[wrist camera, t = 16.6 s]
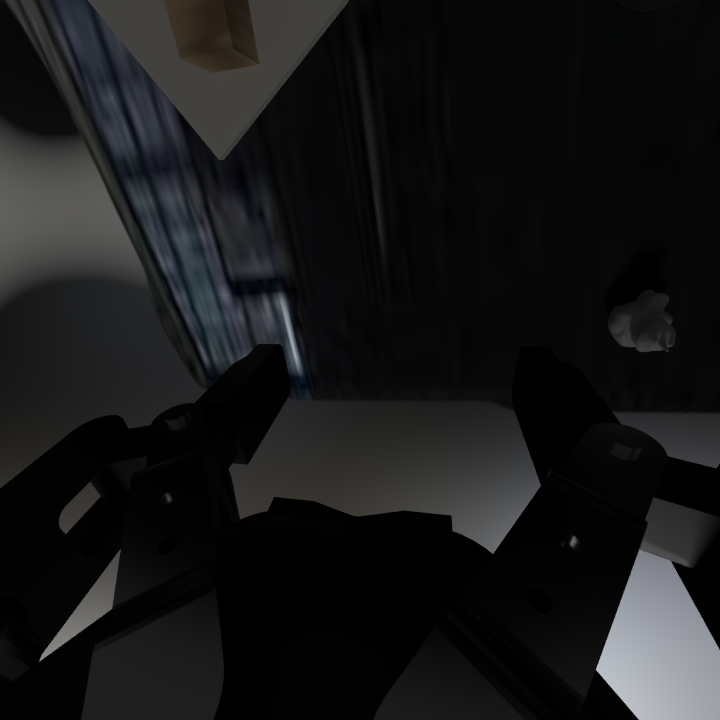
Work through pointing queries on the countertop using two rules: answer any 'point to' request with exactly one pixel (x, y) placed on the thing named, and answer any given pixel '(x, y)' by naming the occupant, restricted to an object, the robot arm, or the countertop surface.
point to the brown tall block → (213, 33)
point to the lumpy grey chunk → (643, 323)
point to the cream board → (226, 88)
